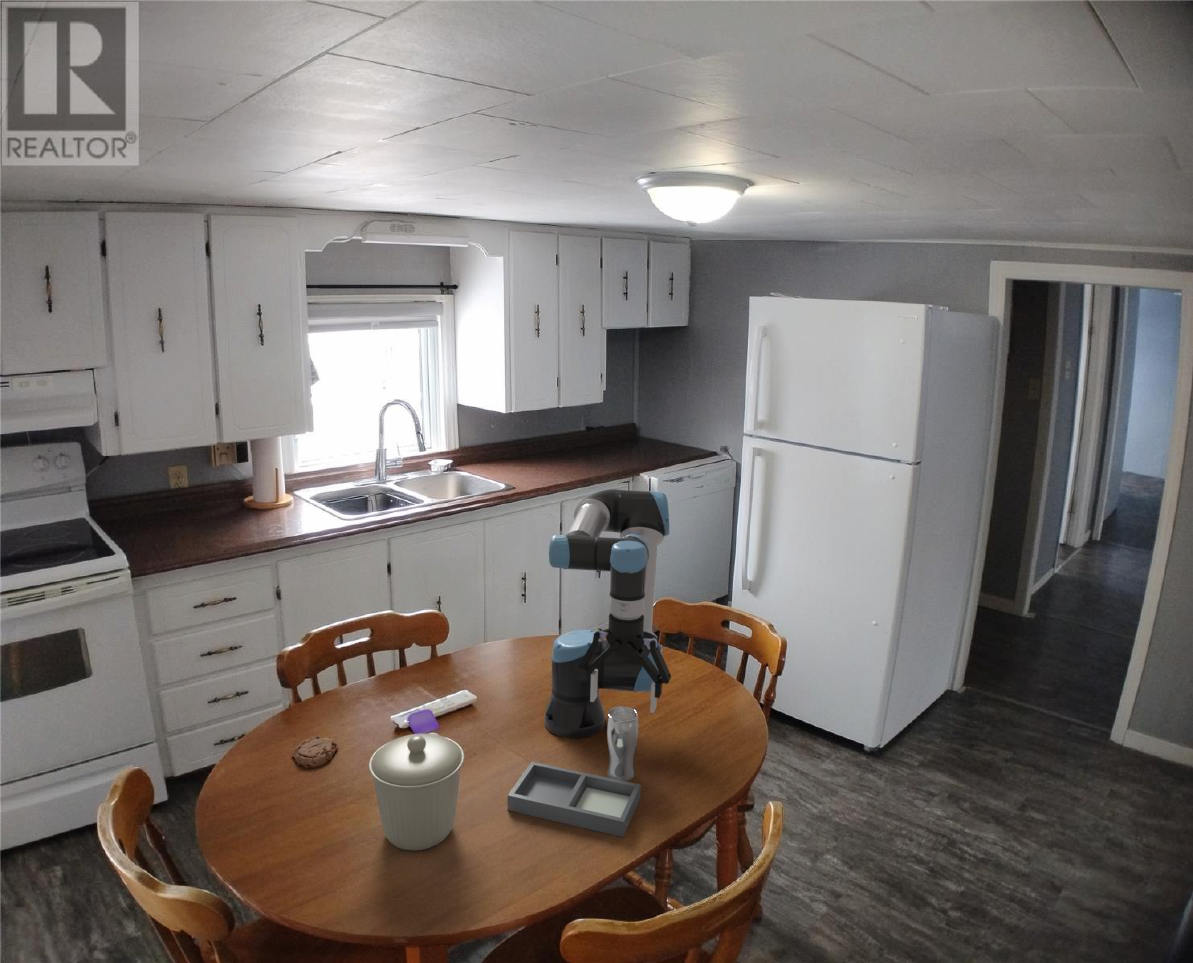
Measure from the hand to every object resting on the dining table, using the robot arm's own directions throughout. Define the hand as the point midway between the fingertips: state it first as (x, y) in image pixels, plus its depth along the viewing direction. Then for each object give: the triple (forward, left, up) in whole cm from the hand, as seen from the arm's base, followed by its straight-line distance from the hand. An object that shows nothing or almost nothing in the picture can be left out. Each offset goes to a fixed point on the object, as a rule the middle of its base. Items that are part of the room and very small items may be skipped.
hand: (623, 704), depth 177 cm
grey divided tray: (-6, -14, -17) cm, 23 cm away
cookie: (-68, -17, -18) cm, 72 cm away
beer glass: (0, 0, -18) cm, 18 cm away
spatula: (-45, -2, -18) cm, 49 cm away
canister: (-32, -33, -18) cm, 49 cm away
